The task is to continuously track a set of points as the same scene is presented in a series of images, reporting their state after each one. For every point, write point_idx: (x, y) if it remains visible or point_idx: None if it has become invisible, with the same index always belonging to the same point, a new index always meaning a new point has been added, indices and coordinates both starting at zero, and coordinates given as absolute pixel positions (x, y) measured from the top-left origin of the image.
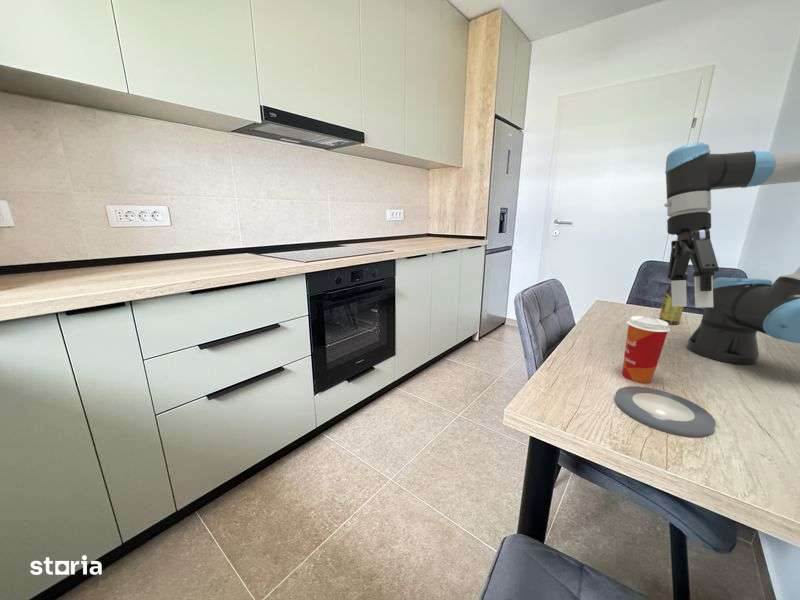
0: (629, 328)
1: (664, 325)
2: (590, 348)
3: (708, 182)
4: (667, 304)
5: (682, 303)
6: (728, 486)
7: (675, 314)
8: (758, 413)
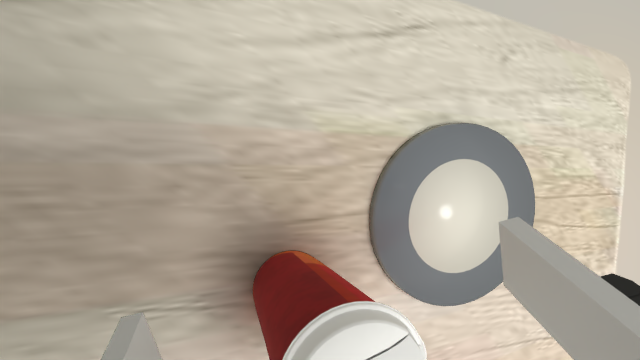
0: None
1: (406, 331)
2: None
3: None
4: None
5: (146, 345)
6: (611, 122)
7: None
8: (314, 19)
